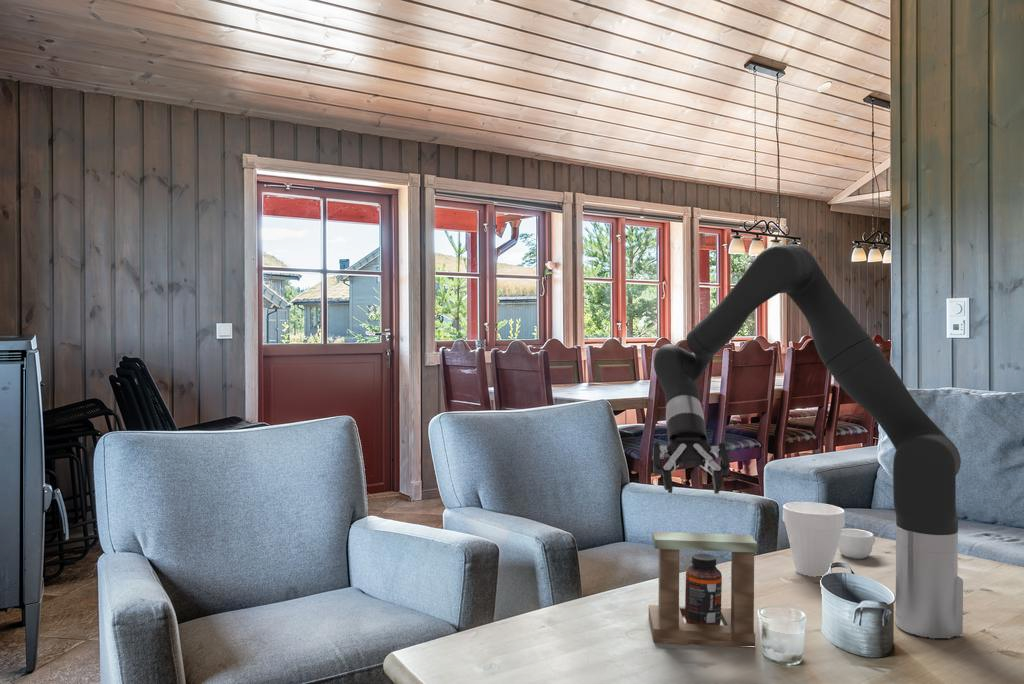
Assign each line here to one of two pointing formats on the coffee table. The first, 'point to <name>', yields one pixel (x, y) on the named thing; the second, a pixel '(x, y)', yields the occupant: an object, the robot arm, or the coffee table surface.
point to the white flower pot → (813, 535)
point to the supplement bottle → (703, 591)
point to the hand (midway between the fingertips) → (693, 491)
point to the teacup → (856, 543)
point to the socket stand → (734, 621)
